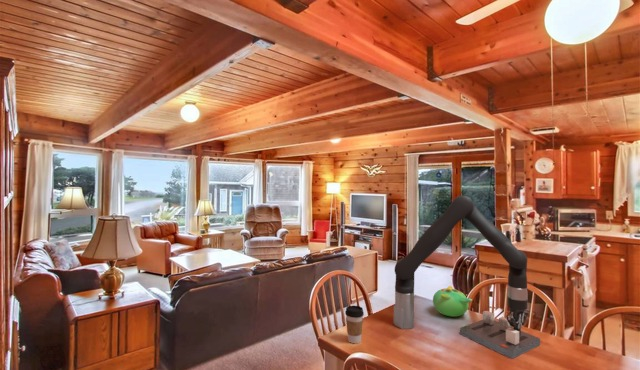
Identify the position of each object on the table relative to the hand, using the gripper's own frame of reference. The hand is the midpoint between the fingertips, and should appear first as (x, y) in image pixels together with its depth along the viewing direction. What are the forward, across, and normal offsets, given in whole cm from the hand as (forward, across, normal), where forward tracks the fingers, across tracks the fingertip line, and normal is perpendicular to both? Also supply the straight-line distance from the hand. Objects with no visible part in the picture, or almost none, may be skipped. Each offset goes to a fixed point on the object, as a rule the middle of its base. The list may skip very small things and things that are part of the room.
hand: (517, 335), depth 137 cm
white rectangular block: (+1, +4, 0) cm, 4 cm away
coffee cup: (+5, +58, -40) cm, 71 cm away
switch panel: (+5, +1, -8) cm, 9 cm away
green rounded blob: (+5, -3, -36) cm, 36 cm away
